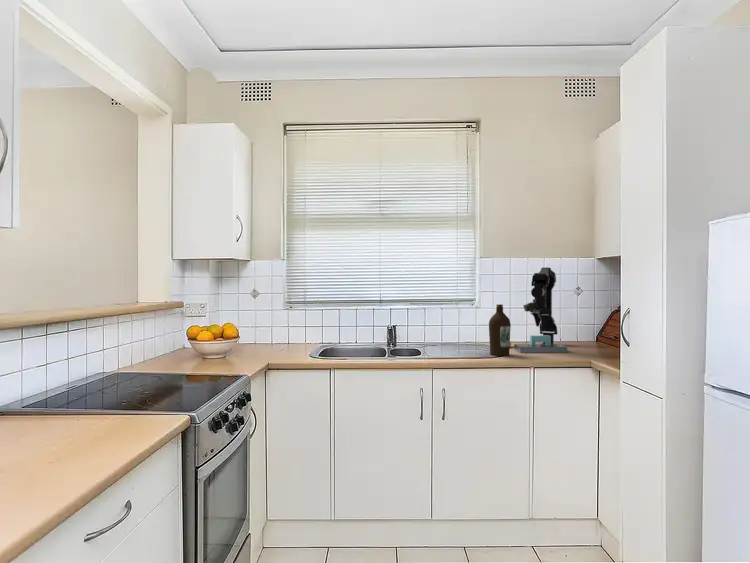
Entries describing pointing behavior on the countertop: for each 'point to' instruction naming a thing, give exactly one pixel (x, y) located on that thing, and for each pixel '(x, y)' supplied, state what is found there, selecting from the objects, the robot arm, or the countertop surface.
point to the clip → (540, 339)
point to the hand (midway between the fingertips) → (540, 327)
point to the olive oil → (499, 333)
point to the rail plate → (540, 348)
